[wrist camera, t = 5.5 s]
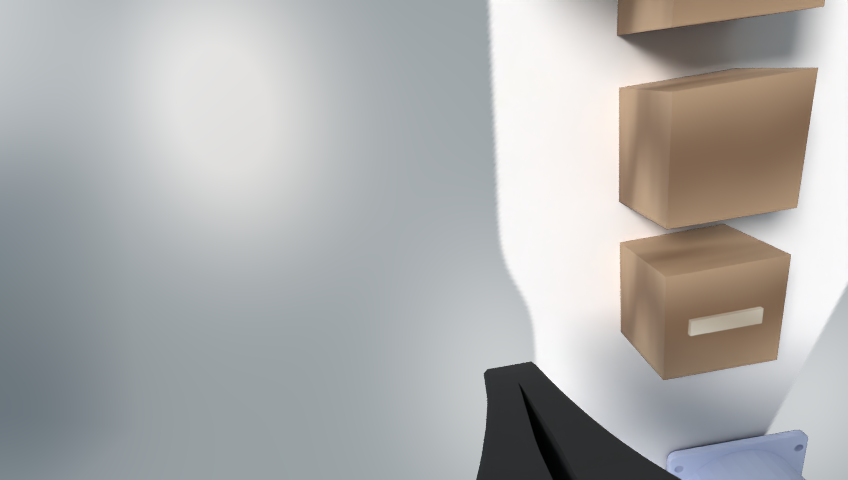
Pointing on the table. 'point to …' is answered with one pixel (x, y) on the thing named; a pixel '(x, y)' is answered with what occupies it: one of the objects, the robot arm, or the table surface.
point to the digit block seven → (697, 12)
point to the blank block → (714, 144)
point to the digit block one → (702, 299)
